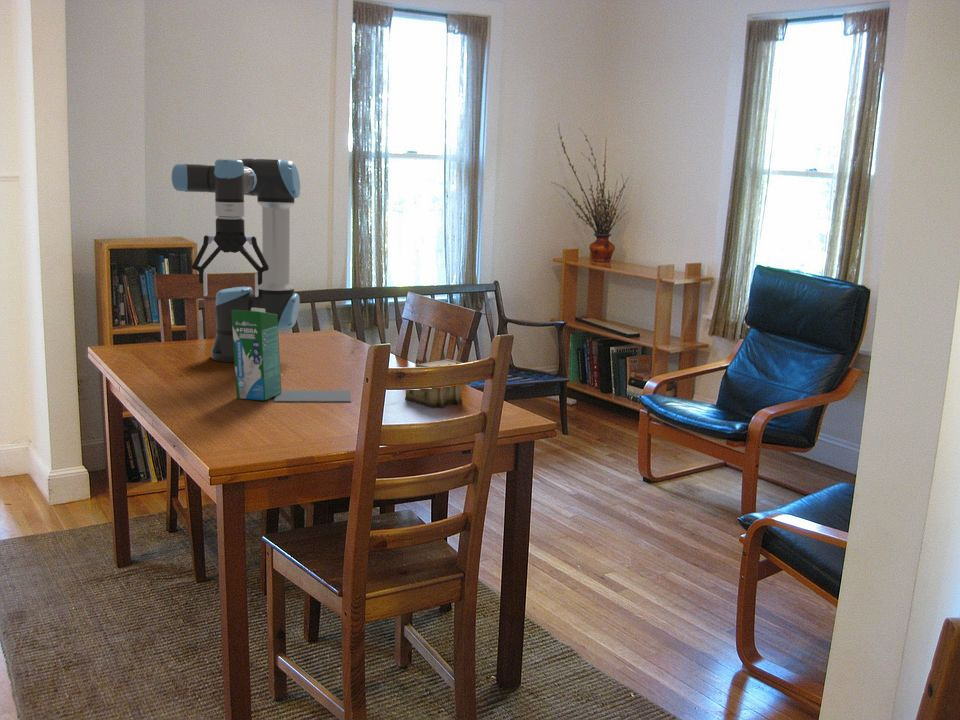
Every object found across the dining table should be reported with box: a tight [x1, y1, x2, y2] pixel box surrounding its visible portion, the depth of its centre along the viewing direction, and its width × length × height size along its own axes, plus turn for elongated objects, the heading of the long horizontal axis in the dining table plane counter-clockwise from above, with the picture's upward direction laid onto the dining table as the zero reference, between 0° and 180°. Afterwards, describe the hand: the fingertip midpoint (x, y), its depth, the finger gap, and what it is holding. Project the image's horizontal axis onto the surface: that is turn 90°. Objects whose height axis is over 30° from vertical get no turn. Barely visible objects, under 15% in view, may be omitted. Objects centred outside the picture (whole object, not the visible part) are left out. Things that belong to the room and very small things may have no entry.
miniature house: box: [404, 358, 463, 409], centre depth 270 cm, size 15×14×11 cm
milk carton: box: [231, 308, 282, 401], centre depth 264 cm, size 9×9×25 cm
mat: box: [273, 389, 352, 403], centre depth 269 cm, size 12×21×1 cm, turn 98°
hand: (231, 295), depth 260 cm, fingers open, 13 cm apart
